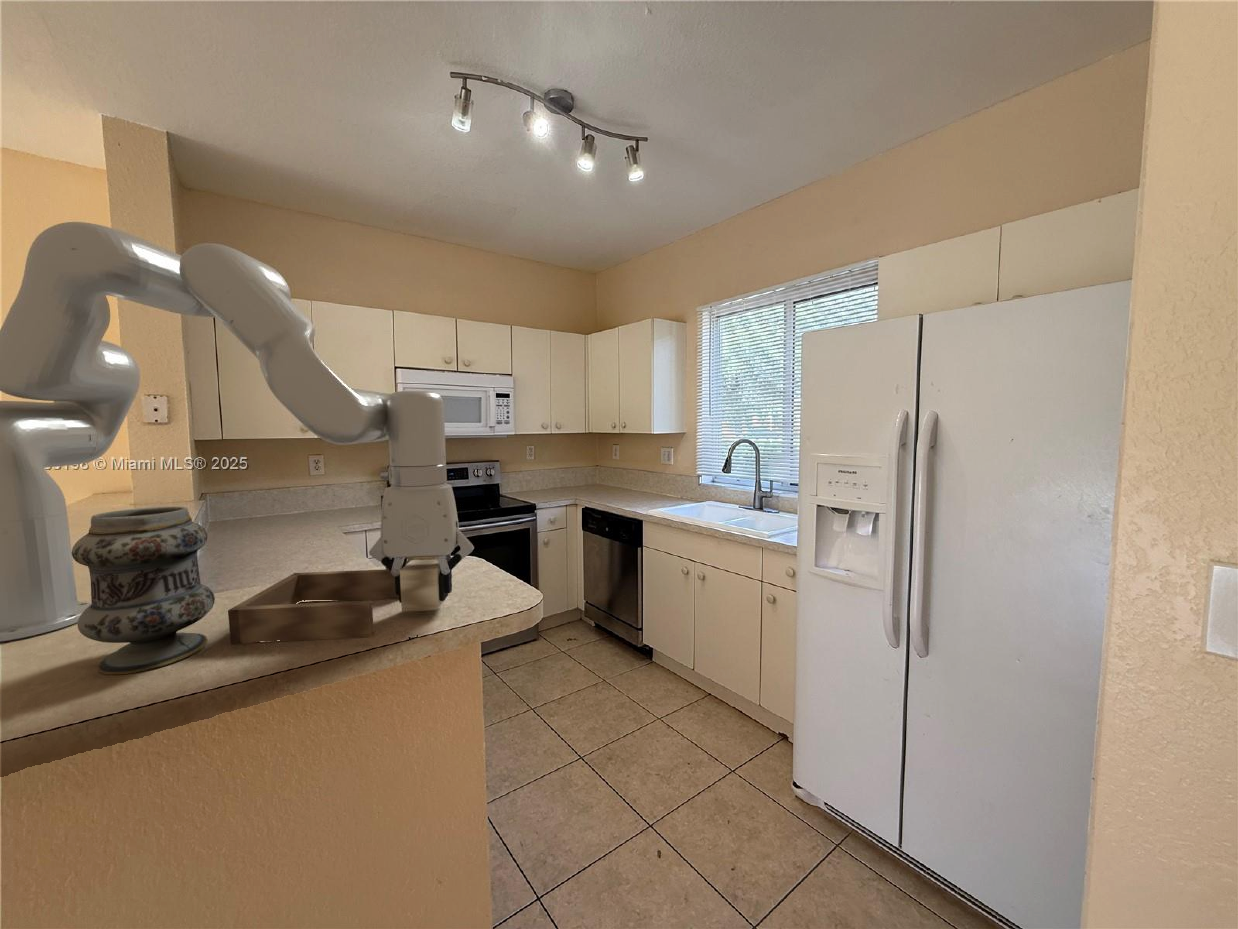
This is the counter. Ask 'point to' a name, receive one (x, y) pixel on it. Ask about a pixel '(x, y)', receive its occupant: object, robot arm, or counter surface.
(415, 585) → the maple block
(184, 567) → the apothecary jar
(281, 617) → the walnut box
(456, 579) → the counter surface
